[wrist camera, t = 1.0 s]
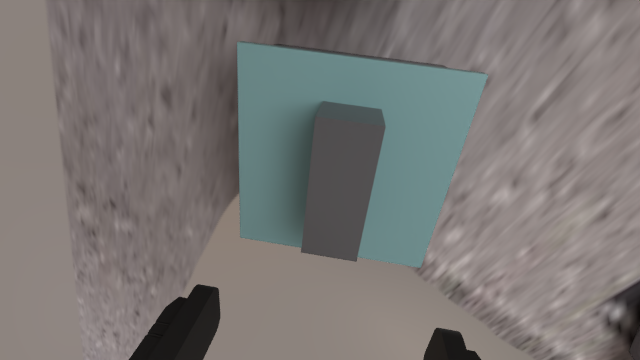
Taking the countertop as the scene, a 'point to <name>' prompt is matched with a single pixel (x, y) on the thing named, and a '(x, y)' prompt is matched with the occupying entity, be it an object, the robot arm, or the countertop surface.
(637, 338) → the soft grey pack
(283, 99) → the lid
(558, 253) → the countertop surface
